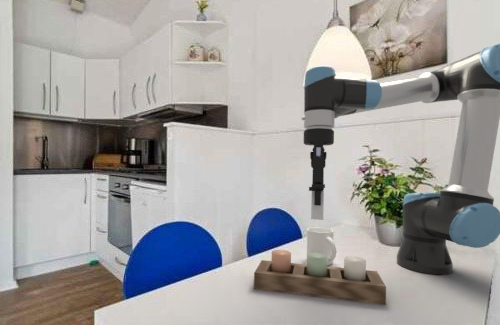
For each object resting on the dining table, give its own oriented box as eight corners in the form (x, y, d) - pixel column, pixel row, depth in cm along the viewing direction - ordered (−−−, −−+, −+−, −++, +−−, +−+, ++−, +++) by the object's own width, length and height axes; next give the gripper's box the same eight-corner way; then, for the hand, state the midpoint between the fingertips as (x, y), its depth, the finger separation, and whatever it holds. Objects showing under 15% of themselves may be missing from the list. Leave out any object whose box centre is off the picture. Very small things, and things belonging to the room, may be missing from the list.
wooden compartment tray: (376, 287, 73) (376, 271, 73) (385, 304, 64) (386, 286, 64) (261, 274, 80) (261, 260, 80) (253, 288, 70) (254, 272, 70)
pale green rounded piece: (326, 271, 74) (327, 253, 74) (327, 278, 69) (327, 259, 69) (306, 269, 75) (307, 252, 75) (306, 276, 70) (306, 257, 70)
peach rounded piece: (291, 267, 76) (291, 250, 76) (289, 274, 71) (290, 256, 71) (272, 265, 77) (273, 249, 77) (269, 272, 72) (270, 254, 72)
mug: (346, 268, 87) (346, 234, 87) (322, 271, 84) (323, 236, 84) (323, 256, 98) (323, 226, 98) (301, 259, 95) (302, 227, 95)
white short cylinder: (363, 274, 72) (364, 257, 72) (367, 282, 67) (367, 263, 67) (342, 272, 73) (343, 255, 73) (344, 280, 68) (345, 261, 68)
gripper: (305, 135, 85) (304, 208, 85) (301, 121, 62) (299, 222, 62) (331, 134, 84) (330, 209, 83) (337, 121, 60) (335, 224, 60)
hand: (317, 215), depth 72 cm, fingers open, 11 cm apart
